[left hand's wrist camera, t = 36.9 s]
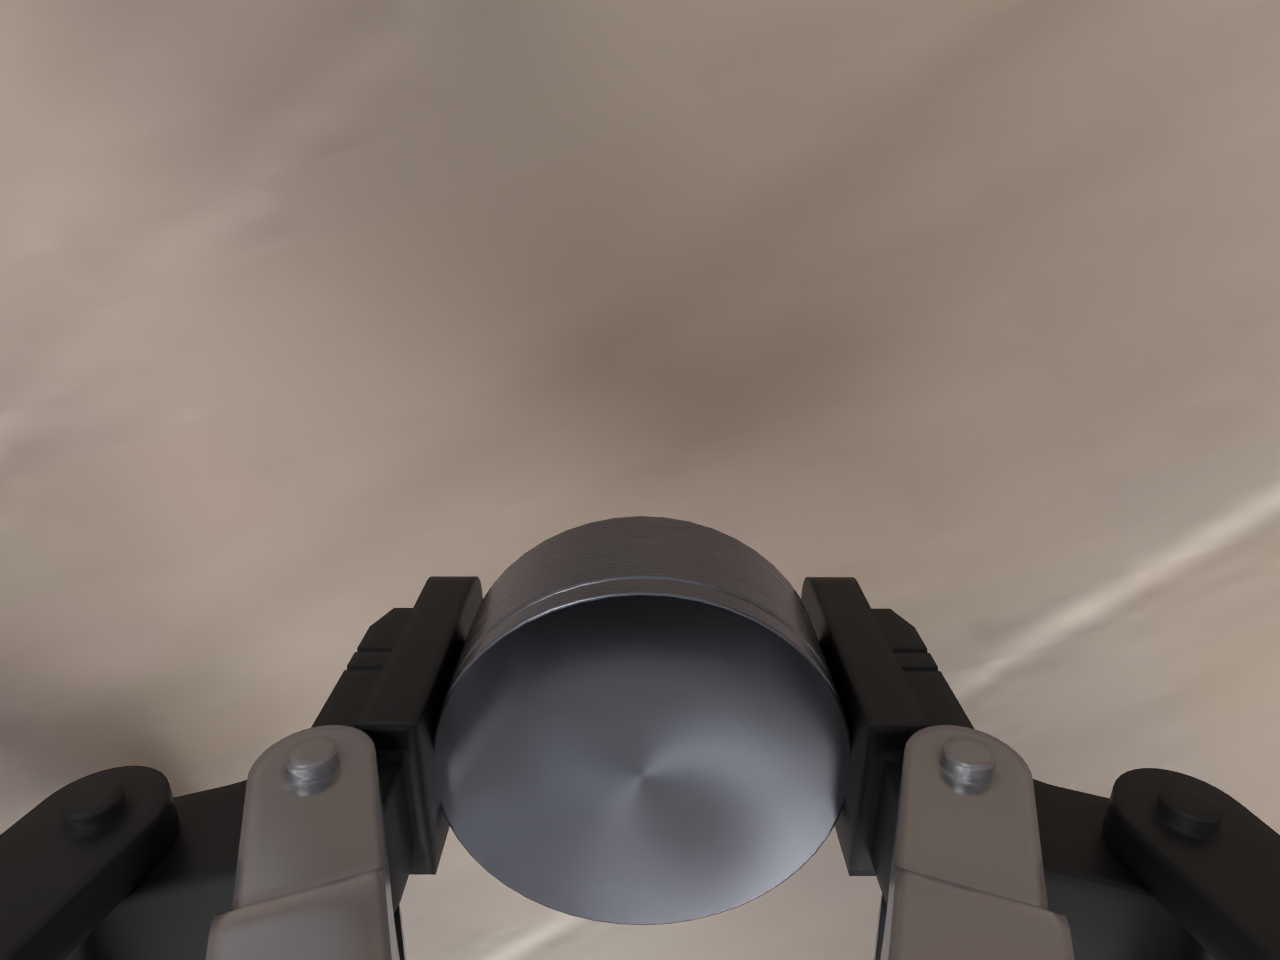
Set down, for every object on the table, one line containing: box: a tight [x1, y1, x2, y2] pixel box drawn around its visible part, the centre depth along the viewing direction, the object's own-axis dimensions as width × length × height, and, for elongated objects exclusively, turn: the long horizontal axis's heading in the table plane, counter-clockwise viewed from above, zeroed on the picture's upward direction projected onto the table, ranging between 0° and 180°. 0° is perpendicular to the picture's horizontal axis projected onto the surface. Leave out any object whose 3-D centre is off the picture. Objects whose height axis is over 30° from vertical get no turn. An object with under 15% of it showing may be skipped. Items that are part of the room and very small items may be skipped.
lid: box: [433, 516, 851, 925], centre depth 10 cm, size 5×5×2 cm
